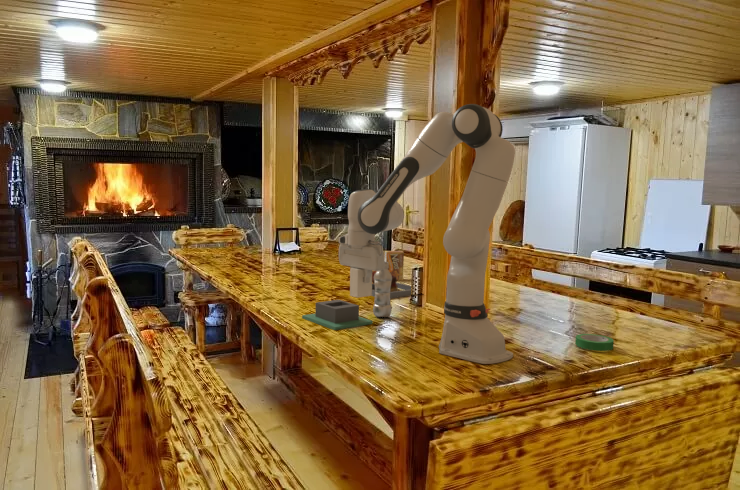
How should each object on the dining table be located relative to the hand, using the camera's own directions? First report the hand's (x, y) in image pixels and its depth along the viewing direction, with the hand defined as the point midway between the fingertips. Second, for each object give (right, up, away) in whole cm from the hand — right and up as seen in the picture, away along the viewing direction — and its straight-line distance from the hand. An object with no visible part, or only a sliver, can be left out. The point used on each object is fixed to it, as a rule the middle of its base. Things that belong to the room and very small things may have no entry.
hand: (361, 281), depth 190 cm
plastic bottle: (+7, -15, +21) cm, 26 cm away
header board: (-9, -15, +13) cm, 22 cm away
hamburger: (+10, -10, +68) cm, 69 cm away
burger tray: (+11, -10, +65) cm, 67 cm away
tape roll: (+73, -20, -9) cm, 76 cm away
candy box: (+14, -7, +96) cm, 97 cm away
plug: (0, -5, 0) cm, 5 cm away
